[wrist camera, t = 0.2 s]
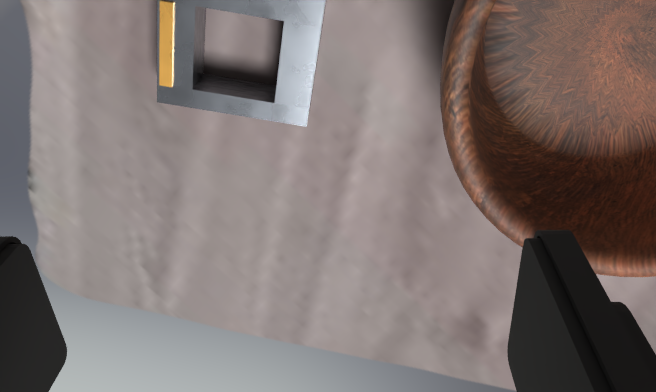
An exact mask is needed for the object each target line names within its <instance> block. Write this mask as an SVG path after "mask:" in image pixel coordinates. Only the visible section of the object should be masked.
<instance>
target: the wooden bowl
mask: <svg viewBox="0 0 656 392" xmlns="http://www.w3.org/2000/svg"><path fill="white" fill-rule="evenodd" d="M440 95H441V113H442V121H443V129H444V135H445V140H446V144H447V148H448V152H449V155H450V158H451V161H452V163H453V166H454V169H455V171H456V173H457V175H458V177H459V179H460V181H461V183H462V185H463V187H464V189H465V190H466V192H467V193H468V195H469V196H470V198H471V199H472V201H473V202H474V204H475V205H476V206H477V207H478V208H479V210H480V211H481V212H482V213H483V214H484V216H485V217H486V218H487V219H488V220H489V221H490V222H491V223H492V224H493V225H494V226H495V227H496V228H497V229H498V230H499V231H500V232H502V233H503V234H504V235H506V236H507V237H508V238H510V239H511V240H512V241H513V242H515V243H516V244H518V245H520V246H521V247H523V243H524V240H525V239H526V238H534V235H535V232H536V231H537V230H570V231H571V232H572V233H573V234H574V236H575V238H576V240H577V242H578V243H579V245H580V247H581V249H582V251H583V252H584V254H585V256H586V258H587V260H588V261H589V263H590V265H591V267H592V269H593V270H594V272H595V274H600V275H609V276H619V277H652V276H656V0H455V1H454V4H453V7H452V11H451V14H450V18H449V21H448V25H447V31H446V36H445V41H444V47H443V55H442V66H441V82H440Z"/></svg>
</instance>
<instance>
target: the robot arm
mask: <svg viewBox="0 0 656 392" xmlns="http://www.w3.org/2000/svg"><path fill="white" fill-rule="evenodd" d="M66 356H67V347H66V343H65V341H64V338H63V335H62V333H61V330H60V328H59V325H58V322H57V320H56V317H55V314H54V312H53V309H52V306H51V304H50V301H49V299H48V296H47V293H46V291H45V288H44V285H43V283H42V280H41V277H40V275H39V272H38V269H37V267H36V264H35V262H34V259H33V256H32V254H31V251H30V249H29V247H28V246H27V245H25V244H22V243H21V242H20V240H19V239H18V238H16V237H13V236H11V237H0V392H48V391H49V390H50V388H51V386H52V384H53V383H54V381H55V379H56V377H57V376H58V374H59V372H60V370H61V369H62V367H63V365H64V363H65V360H66ZM508 361H509V366H510V369H511V373H512V376H513V380H514V383H515V387H516V390H517V392H656V355H655V353H654V351H653V349H652V348H651V346H650V344H649V343H648V341H647V339H646V337H645V336H644V334H643V332H642V331H641V329H640V327H639V325H638V324H637V322H636V320H635V319H634V317H633V315H632V313H631V312H630V310H629V309H628V308H627V307H626V305H624V304H623V303H621V302H611V301H610V299H609V298H608V296H607V294H606V292H605V290H604V288H603V287H602V285H601V283H600V281H599V279H598V278H597V276H596V274H595V272H594V270H593V269H592V267H591V265H590V263H589V261H588V260H587V258H586V256H585V254H584V252H583V251H582V249H581V247H580V245H579V243H578V242H577V240H576V238H575V236H574V234H573V233H572V232H571V231H570V230H537V231H536V232H535V235H534V238H526V239H525V240H524V243H523V249H522V255H521V262H520V268H519V275H518V282H517V288H516V295H515V301H514V308H513V314H512V321H511V328H510V334H509V341H508Z"/></svg>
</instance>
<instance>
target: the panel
mask: <svg viewBox="0 0 656 392" xmlns="http://www.w3.org/2000/svg"><path fill="white" fill-rule="evenodd" d="M325 6H326V0H157V102H159V103H165V104H172V105H178V106H184V107H190V108H196V109H202V110H208V111H214V112H220V113H226V114H232V115H239V116H245V117H251V118H257V119H263V120H269V121H275V122H281V123H287V124H293V125H300V126H306V127H307V121H308V116H309V111H310V105H311V98H312V92H313V85H314V78H315V72H316V65H317V58H318V52H319V45H320V39H321V32H322V25H323V19H324V12H325ZM206 8H210V9H216V10H222V11H228V12H234V13H239V14H245V15H251V16H257V17H263V18H269V19H275V20H280V21H284V25H283V34H282V43H281V51H280V60H279V69H278V77H277V86H274V85H268V84H262V83H256V82H250V81H244V80H238V79H232V78H226V77H220V76H214V75H208V74H203V65H204V42H205V20H206Z"/></svg>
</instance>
